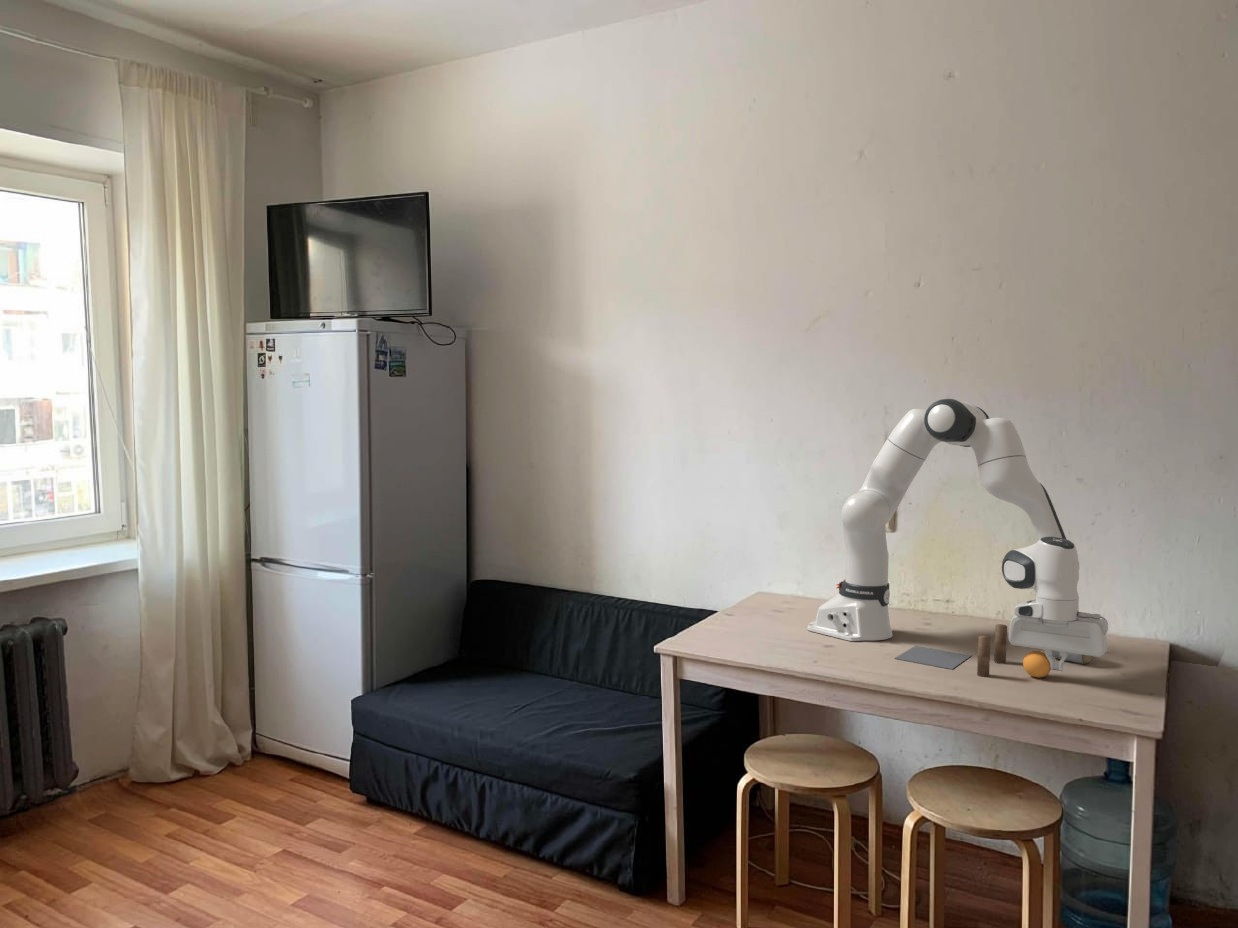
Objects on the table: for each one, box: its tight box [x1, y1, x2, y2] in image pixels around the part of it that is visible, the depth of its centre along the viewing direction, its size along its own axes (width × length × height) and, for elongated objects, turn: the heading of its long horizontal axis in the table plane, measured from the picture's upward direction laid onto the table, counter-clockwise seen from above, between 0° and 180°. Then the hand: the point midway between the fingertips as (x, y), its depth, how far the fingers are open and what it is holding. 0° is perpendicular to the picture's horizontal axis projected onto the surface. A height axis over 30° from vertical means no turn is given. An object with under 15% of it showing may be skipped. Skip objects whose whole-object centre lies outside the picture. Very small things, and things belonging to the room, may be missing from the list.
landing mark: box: [894, 645, 972, 670], centre depth 229 cm, size 14×14×1 cm
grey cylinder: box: [1052, 651, 1094, 665], centre depth 227 cm, size 11×8×8 cm
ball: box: [1022, 650, 1051, 678], centre depth 214 cm, size 6×6×6 cm
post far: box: [993, 623, 1008, 664], centre depth 225 cm, size 3×3×9 cm
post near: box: [976, 635, 991, 678], centre depth 215 cm, size 3×3×9 cm
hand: (1056, 669), depth 211 cm, fingers closed
